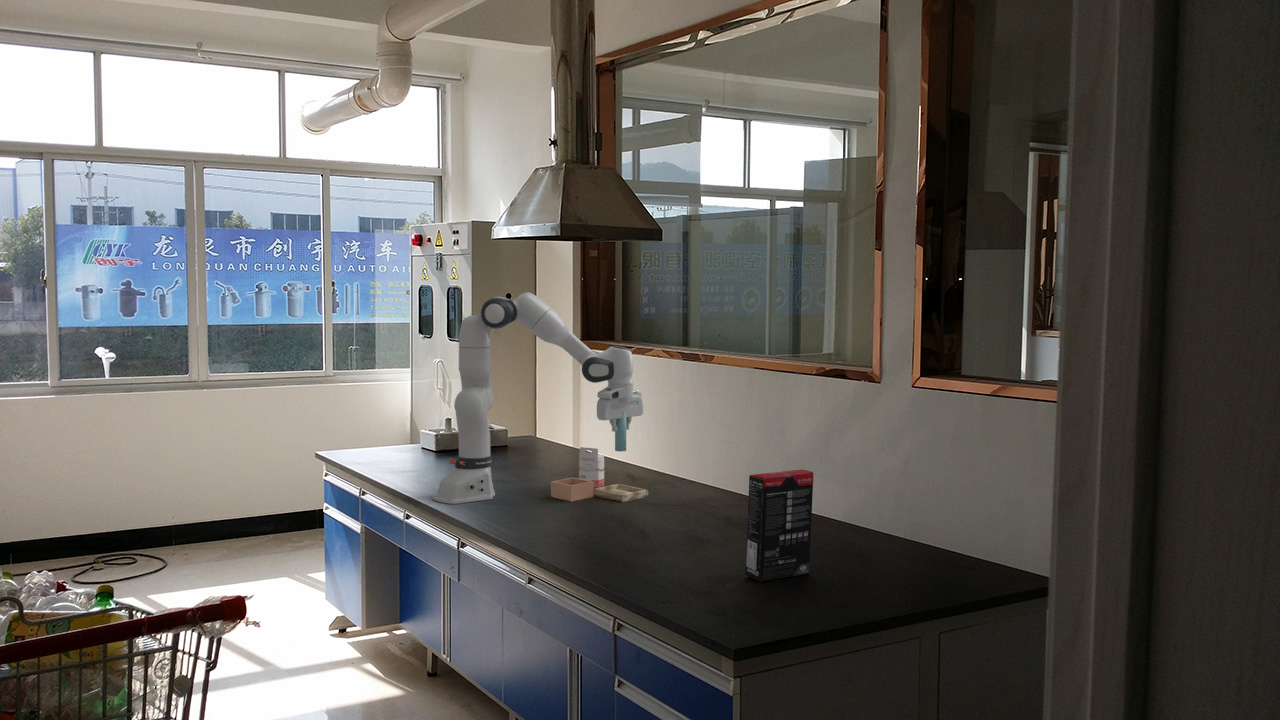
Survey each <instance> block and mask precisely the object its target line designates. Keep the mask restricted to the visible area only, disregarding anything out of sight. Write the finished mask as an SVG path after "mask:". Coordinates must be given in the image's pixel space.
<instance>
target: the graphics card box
mask: <svg viewBox="0 0 1280 720" xmlns="http://www.w3.org/2000/svg"><path fill="white" fill-rule="evenodd" d="M748 477H749V479H748V503H747V507H748V509H747V528H746V529H747V530H746V531H747V532H746V536H747V537H746V552H745V553H746V556H745V559H746V560H745V576H746V577H748V578H751V579H752V580H755V581H757V582H759V583H762V582H767V581H773V580H779V579H786V578H792V577H795V576H796V577H797V576H803V575H807V574H809V573H810V566H811V565H810V562H811V560H810V559H811V539H812V537H811V535H812V517H813V514H812V513H813V494H814V492H813V491H814V490H813V489H814V471H811V470H807V469H793V470H784V471H777V472H774V471H773V472H766V473H755V474H750V475H749V476H748Z"/></svg>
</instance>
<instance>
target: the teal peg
mask: <svg viewBox="0 0 1280 720" xmlns="http://www.w3.org/2000/svg"><path fill="white" fill-rule="evenodd" d="M622 415H623V416H622V418H620V419H616V422H615V423H616V426H618V431H617V432H614V451H615V452H627V430H626V412H622Z"/></svg>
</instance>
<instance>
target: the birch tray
mask: <svg viewBox="0 0 1280 720" xmlns="http://www.w3.org/2000/svg"><path fill="white" fill-rule="evenodd" d="M593 497H596V498H601V499H605V498H606V500H609V501H614V500H616V501H615V502H619V501H620V502H621V503H625V501H626V502H630V501H634V500H639V499H644V498H648V497H649V490H648V489H646V488H641V487H636V486H631V485H626V484H621V483H616V484H611V485H604V486H602V487H599V488H594V491H593ZM620 502H619V503H620Z"/></svg>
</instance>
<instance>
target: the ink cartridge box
mask: <svg viewBox="0 0 1280 720" xmlns="http://www.w3.org/2000/svg"><path fill="white" fill-rule="evenodd" d="M586 451H587V452H586ZM588 451H589V452H588ZM578 478H579V479H583V480H588V481H593V482H594V489H595V488H600V487H605V455H604V454H599V449H598V448H596V447H595V448H594V447H585V446H581V447H579V455H578Z"/></svg>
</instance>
